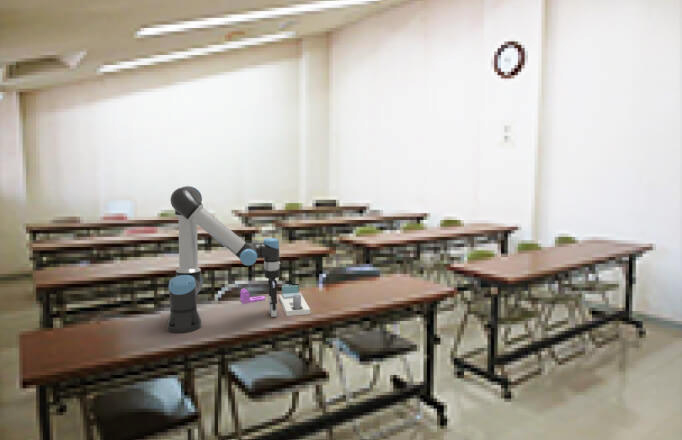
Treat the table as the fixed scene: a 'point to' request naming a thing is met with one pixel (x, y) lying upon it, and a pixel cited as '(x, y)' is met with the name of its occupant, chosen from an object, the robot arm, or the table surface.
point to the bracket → (247, 299)
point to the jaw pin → (269, 305)
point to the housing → (294, 305)
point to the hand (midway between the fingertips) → (273, 313)
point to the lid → (290, 291)
